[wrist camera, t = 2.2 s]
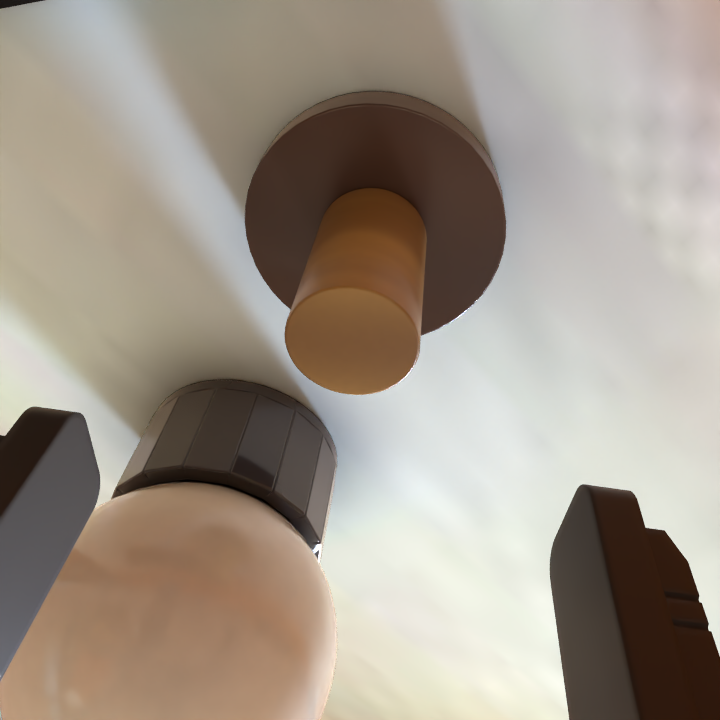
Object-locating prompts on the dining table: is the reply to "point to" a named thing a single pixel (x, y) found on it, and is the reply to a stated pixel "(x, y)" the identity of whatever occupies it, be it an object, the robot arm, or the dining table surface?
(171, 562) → the ball
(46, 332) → the dining table surface
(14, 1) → the phone
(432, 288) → the knob on round base
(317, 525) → the stand
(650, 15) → the dining table surface
